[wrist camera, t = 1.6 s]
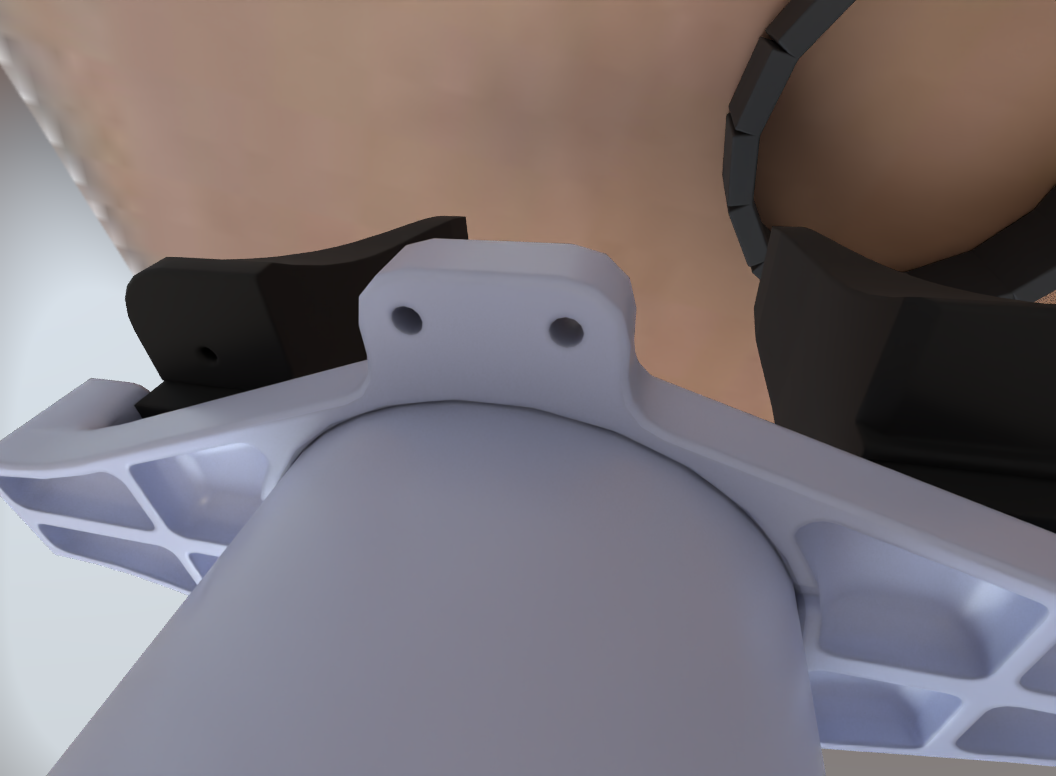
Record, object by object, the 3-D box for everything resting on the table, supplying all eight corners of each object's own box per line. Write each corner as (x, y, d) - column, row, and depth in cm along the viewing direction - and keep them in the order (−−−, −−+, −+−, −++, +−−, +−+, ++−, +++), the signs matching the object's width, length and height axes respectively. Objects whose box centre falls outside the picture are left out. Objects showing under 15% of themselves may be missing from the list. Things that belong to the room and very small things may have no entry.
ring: (1282, -30, 15) (1413, -29, 12) (950, 329, 22) (986, 378, 20) (853, -171, 15) (889, -200, 12) (670, 233, 22) (668, 269, 20)
